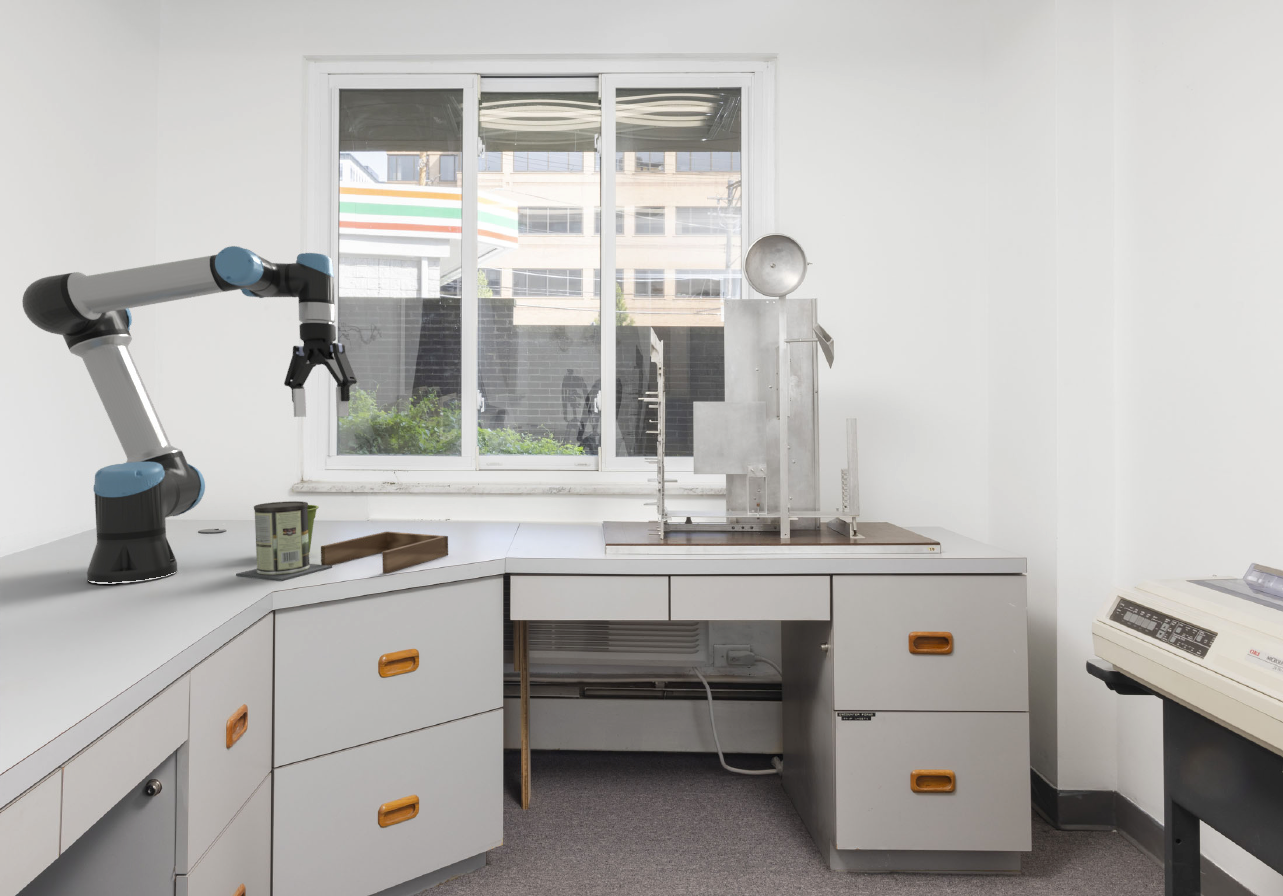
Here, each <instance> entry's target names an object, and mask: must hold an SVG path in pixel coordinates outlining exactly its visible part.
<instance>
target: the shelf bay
mask: <svg viewBox="0 0 1283 896" xmlns="http://www.w3.org/2000/svg"><path fill="white" fill-rule="evenodd" d="M380 553H381V555H382V574H390V573H392V572H396V571H399V570H403V569H406V568H409V567H410V568H411V567H413V566H416V565H420V564H423V563H425V562H429V561H433V560H436V559H440V558H442V557H446V556H448V555H449V536H447V535H437V534H424V533H423V534H421V533H411V532H399V531H382V532H378V533H373V534H369V535H364V536H361V537H356V538H352V539H347V540H343V541H338V542H333V543H329V544H325V545H324V544H323V545H320V565H329V566H334V565H338V564H341V563H345V562H346V563H347V562H349V561H354V560H357V559H361V558H364V557H369V556H372V555H376V554H380Z"/></svg>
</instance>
